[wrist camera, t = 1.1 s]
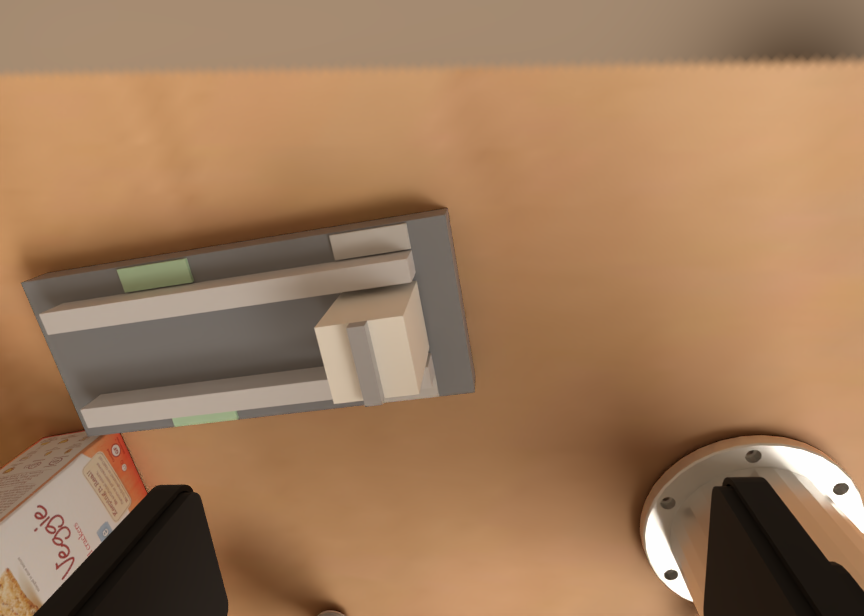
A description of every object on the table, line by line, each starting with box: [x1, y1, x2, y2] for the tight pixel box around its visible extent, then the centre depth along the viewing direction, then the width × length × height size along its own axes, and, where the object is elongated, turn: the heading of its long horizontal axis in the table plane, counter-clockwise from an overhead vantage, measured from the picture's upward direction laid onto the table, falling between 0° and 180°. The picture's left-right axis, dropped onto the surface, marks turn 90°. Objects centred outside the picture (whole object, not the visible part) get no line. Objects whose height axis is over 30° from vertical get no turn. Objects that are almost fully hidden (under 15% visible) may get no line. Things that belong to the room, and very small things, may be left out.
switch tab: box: [314, 281, 429, 407], centre depth 26 cm, size 4×4×6 cm
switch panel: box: [21, 208, 475, 437], centre depth 31 cm, size 10×24×4 cm, turn 100°
